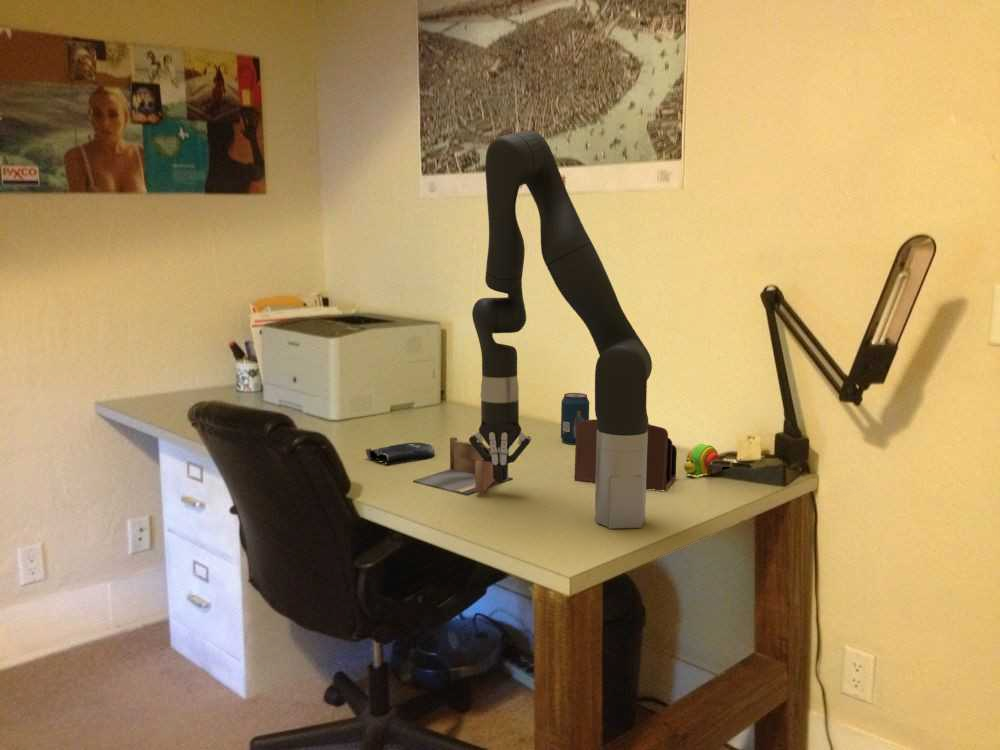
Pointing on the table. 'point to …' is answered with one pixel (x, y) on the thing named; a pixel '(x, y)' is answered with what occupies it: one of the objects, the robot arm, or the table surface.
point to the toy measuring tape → (700, 459)
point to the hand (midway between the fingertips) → (500, 481)
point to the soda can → (573, 415)
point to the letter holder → (658, 455)
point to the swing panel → (483, 475)
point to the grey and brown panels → (458, 470)
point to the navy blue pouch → (402, 452)
